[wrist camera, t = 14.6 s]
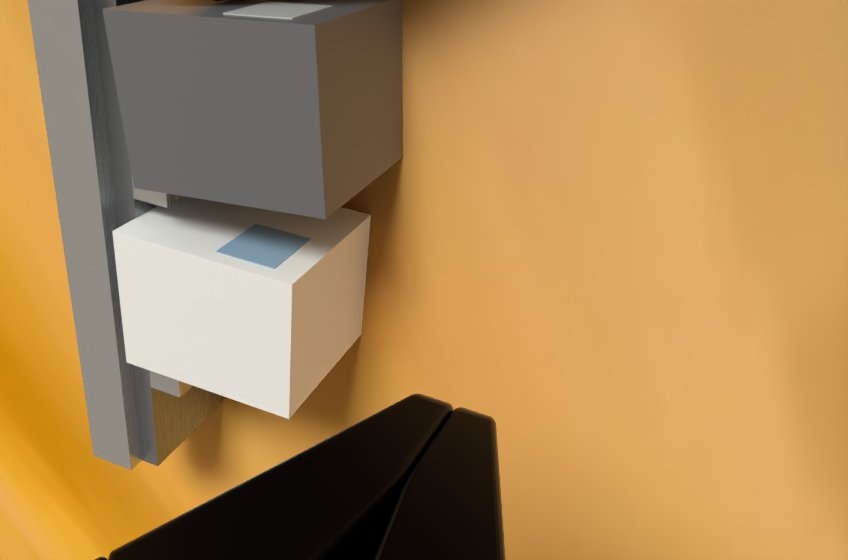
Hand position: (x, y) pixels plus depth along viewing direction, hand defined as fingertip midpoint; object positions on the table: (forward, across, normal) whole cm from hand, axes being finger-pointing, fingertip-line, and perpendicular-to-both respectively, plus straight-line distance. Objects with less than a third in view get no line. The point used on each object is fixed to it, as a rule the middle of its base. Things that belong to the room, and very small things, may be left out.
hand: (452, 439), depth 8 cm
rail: (+12, +12, +6) cm, 18 cm away
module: (+12, +8, +6) cm, 16 cm away
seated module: (+12, +8, 0) cm, 14 cm away
